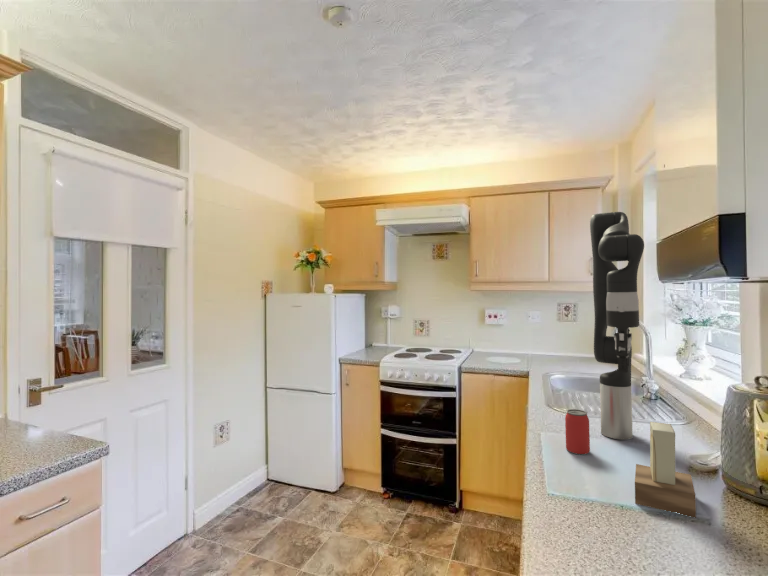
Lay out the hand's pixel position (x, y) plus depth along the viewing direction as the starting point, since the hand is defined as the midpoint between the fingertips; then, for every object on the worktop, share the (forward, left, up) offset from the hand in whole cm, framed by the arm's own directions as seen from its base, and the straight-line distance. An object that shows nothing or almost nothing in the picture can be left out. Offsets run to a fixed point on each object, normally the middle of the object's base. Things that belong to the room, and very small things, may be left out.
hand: (623, 369), depth 106 cm
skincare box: (+11, +8, -23) cm, 27 cm away
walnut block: (+11, +8, -28) cm, 31 cm away
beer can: (-9, -13, -28) cm, 32 cm away
